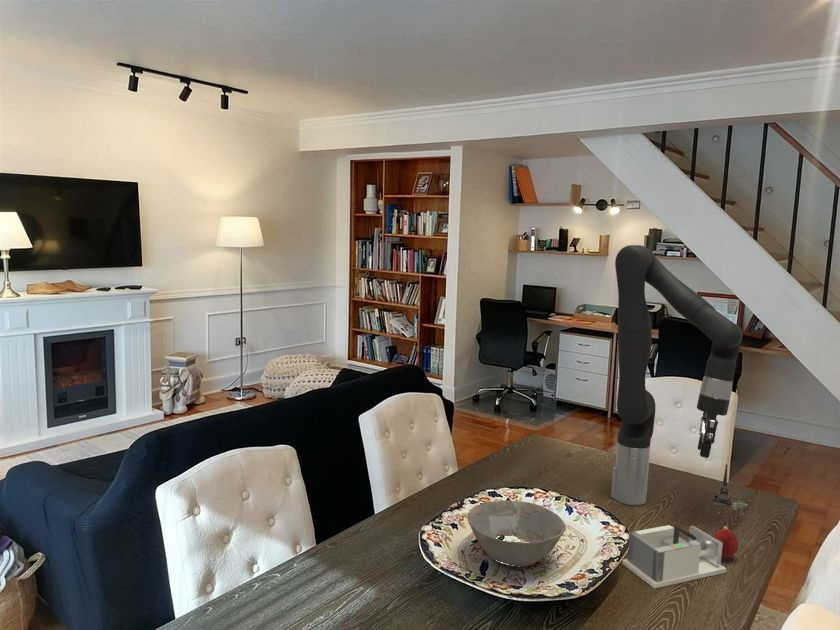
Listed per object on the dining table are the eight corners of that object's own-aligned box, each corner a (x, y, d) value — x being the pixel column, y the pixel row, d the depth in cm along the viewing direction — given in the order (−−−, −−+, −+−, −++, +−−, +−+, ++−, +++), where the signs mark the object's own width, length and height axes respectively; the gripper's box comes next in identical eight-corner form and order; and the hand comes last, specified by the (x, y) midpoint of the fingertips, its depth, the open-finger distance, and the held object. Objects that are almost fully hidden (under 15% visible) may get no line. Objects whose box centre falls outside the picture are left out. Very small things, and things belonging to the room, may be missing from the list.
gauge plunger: (691, 546, 155) (694, 512, 153) (724, 567, 145) (727, 531, 144) (655, 554, 151) (658, 518, 149) (686, 575, 141) (690, 538, 140)
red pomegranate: (734, 554, 154) (737, 523, 153) (738, 565, 149) (741, 534, 148) (709, 549, 156) (712, 519, 155) (711, 560, 151) (714, 529, 150)
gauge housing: (690, 549, 156) (693, 518, 155) (726, 572, 146) (729, 539, 145) (622, 563, 149) (624, 530, 147) (654, 588, 138) (657, 553, 137)
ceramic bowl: (575, 584, 140) (577, 542, 138) (473, 585, 138) (475, 543, 137) (548, 535, 161) (550, 499, 160) (460, 536, 160) (461, 499, 158)
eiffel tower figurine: (719, 515, 177) (724, 471, 175) (691, 501, 186) (695, 458, 184) (756, 507, 183) (761, 464, 181) (727, 494, 192) (731, 452, 190)
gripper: (698, 388, 174) (686, 444, 176) (701, 395, 161) (689, 455, 162) (727, 394, 172) (715, 451, 173) (733, 401, 159) (720, 463, 160)
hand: (702, 453), depth 168 cm, fingers open, 8 cm apart
